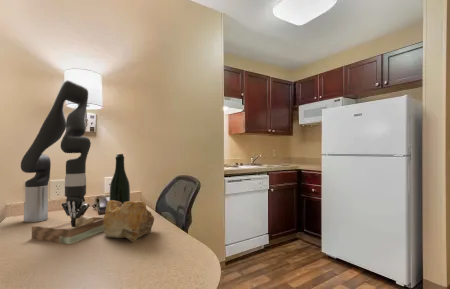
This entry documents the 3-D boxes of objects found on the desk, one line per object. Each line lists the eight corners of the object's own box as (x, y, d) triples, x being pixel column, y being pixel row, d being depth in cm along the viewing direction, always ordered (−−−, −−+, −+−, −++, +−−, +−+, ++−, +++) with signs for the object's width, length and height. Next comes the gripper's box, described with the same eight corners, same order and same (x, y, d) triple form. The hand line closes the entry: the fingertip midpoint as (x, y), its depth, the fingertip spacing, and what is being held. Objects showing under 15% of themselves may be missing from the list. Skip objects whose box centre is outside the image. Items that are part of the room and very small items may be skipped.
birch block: (75, 230, 96) (75, 218, 97) (85, 226, 101) (85, 216, 101) (84, 231, 95) (84, 219, 95) (93, 227, 99) (93, 216, 99)
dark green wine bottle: (133, 214, 131) (133, 153, 132) (114, 218, 123) (114, 153, 124) (124, 211, 137) (124, 153, 139) (105, 215, 130) (106, 153, 131)
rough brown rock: (168, 238, 95) (169, 199, 97) (129, 247, 82) (132, 203, 84) (135, 229, 110) (137, 195, 112) (98, 236, 97) (101, 198, 99)
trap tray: (31, 239, 94) (31, 226, 94) (73, 225, 111) (73, 214, 111) (69, 244, 88) (70, 230, 88) (107, 229, 105) (107, 217, 105)
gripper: (55, 184, 98) (54, 227, 98) (79, 186, 94) (79, 230, 94) (71, 182, 105) (71, 222, 105) (95, 183, 101) (95, 225, 101)
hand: (75, 226), depth 99 cm, fingers closed
